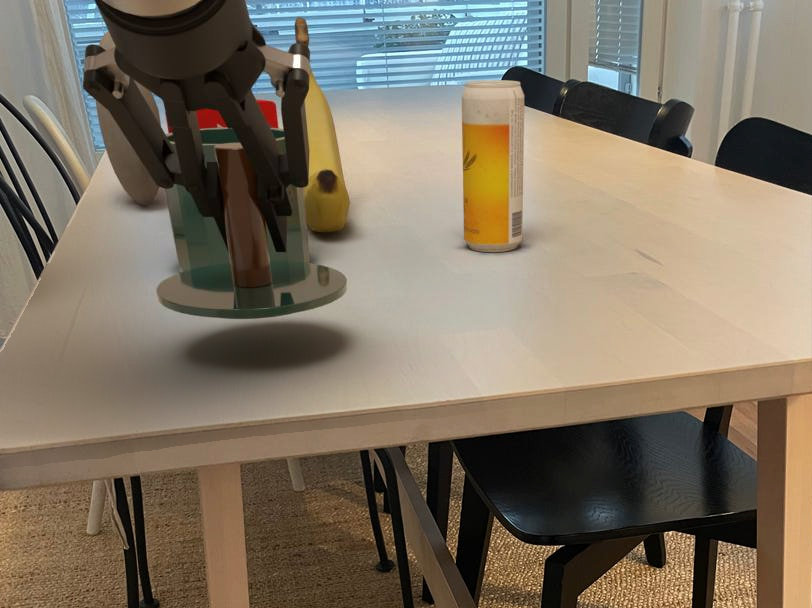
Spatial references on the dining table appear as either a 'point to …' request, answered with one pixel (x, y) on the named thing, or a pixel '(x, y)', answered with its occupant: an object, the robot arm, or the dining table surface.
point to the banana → (322, 158)
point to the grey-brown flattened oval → (127, 147)
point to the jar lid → (248, 261)
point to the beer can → (493, 164)
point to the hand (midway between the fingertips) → (257, 235)
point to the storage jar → (200, 234)
